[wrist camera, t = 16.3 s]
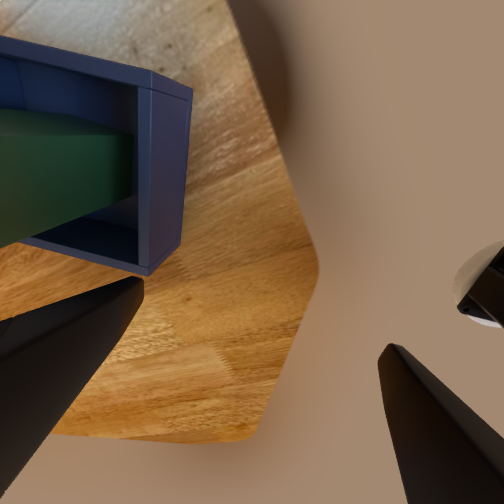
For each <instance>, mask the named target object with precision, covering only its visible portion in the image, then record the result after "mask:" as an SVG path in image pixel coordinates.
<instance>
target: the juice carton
mask: <svg viewBox="0 0 504 504" xmlns="http://www.w3.org/2000/svg"><path fill="white" fill-rule="evenodd" d="M133 139H134V135H133V134H130V133H127V132H124V131H121V130H118V129H115V128H112V127H109V126H106V125H103V124H99V123H96V122H93V121H90V120H87V119H84V118H81V117H78V116H75V115H71V114H59V113H47V112H35V111H23V110H12V109H0V248H3V247H5V246H8V245H10V244H13V243H15V242H18V241H20V240H23V239H25V238H28V237H31V236H33V235H36V234H38V233H41V232H43V231H46V230H48V229H51V228H53V227H56V226H58V225H61V224H63V223H66V222H68V221H71V220H73V219H76V218H79V217H81V216H84V215H86V214H89V213H91V212H94V211H96V210H99V209H101V208H104V207H106V206H109V205H111V204H114V203H116V202H119V201H122V200H124V199H127V198H129V197H131V181H132V160H133Z"/></svg>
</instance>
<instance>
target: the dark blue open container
mask: <svg viewBox="0 0 504 504" xmlns="http://www.w3.org/2000/svg"><path fill="white" fill-rule="evenodd" d="M192 97H193V89H192V88H189V87H187V86H185V85H183V84H180V83H178V82H176V81H174V80H171V79H169V78H167V77H165V76H163V75H160V74H158V73H156V72H154V71H151V70H147V69H143V68H138V67H134V66H130V65H126V64H121V63H117V62H113V61H109V60H104V59H100V58H96V57H92V56H87V55H83V54H79V53H75V52H70V51H66V50H62V49H57V48H53V47H49V46H45V45H40V44H36V43H32V42H28V41H23V40H19V39H15V38H11V37H6V36H2V35H0V109H12V110H23V111H35V112H47V113H59V114H71V115H75V116H78V117H81V118H84V119H87V120H90V121H93V122H96V123H99V124H103V125H106V126H109V127H112V128H115V129H118V130H121V131H124V132H127V133H130V134H133V135H134V139H133V160H132V181H131V197H129V198H127V199H124V200H122V201H119V202H116V203H114V204H111V205H109V206H106V207H104V208H101V209H99V210H96V211H94V212H91V213H89V214H86V215H84V216H81V217H79V218H76V219H73V220H71V221H68V222H66V223H63V224H61V225H58V226H56V227H53V228H51V229H48V230H46V231H43V232H41V233H38V234H36V235H33V236H31V237H28V238H25V239H23V240H20V241H18V242H20V243H23V244H27V245H31V246H35V247H39V248H42V249H46V250H50V251H54V252H57V253H61V254H65V255H69V256H72V257H76V258H80V259H84V260H87V261H91V262H95V263H99V264H102V265H106V266H110V267H114V268H117V269H121V270H125V271H129V272H132V273H136V274H140V275H144V276H147V277H148V276H150V275H151V274H152V273H153V272H154V271H155V270H156V269H157V268H158V267H159V266H160V265H161V264H162V263H163V262H164V261H165V260H166V259H167V258H168V257H169V256H170V255H171V254H172V253H173V252H174V251H175V250H176V248H178V247H179V246H180V241H181V229H182V217H183V205H184V193H185V181H186V169H187V157H188V145H189V133H190V121H191V109H192Z"/></svg>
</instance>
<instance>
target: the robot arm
mask: <svg viewBox="0 0 504 504" xmlns="http://www.w3.org/2000/svg"><path fill="white" fill-rule="evenodd" d="M143 299H144V280H143V279H142V278H138V277H135V276H130V277H127V278H124V279H122V280H119V281H116V282H113V283H110V284H107V285H104V286H101V287H98V288H95V289H92V290H90V291H87V292H84V293H81V294H78V295H75V296H72V297H69V298H66V299H63V300H60V301H58V302H55V303H52V304H49V305H46V306H43V307H40V308H37V309H34V310H31V311H28V312H25V313H23V314H20V315H17V316H15V317H14V318H13V317H11V318H8V319H5V320H2V321H0V498H1V497H2V496H3V494H4V493H5V490H7V489H8V487H9V486H10V485H11V483H12V482H13V481H14V480H15V478H16V477H17V475H18V474H19V473H20V471H21V470H22V469H23V468H24V466H25V465H26V464H27V462H28V461H29V459H30V458H31V457H32V456H33V454H34V453H35V452H36V450H37V449H38V448H39V446H40V445H41V444H42V442H43V441H44V440H45V438H46V437H47V436H48V434H49V433H50V432H51V430H52V429H53V428H54V426H55V425H56V424H57V422H58V421H59V420H60V418H61V417H62V416H63V415H64V413H65V412H66V411H67V409H68V408H69V407H70V405H71V404H72V403H73V401H74V400H75V399H76V397H77V396H78V395H79V393H80V392H81V391H82V389H83V388H84V387H85V385H86V384H87V383H88V381H89V380H90V379H91V377H92V376H93V375H94V373H95V372H96V371H97V369H98V368H99V367H100V365H101V364H102V363H103V361H104V360H105V359H106V357H107V356H108V355H109V353H110V352H111V351H112V350H113V348H114V347H115V346H116V344H117V343H118V341H119V340H120V339H121V337H122V335H123V334H124V332H125V331H126V329H127V327H128V326H129V324H130V322H131V321H132V319H133V317H134V316H135V314H136V312H137V311H138V309H139V307H140V306H141V304H142V302H143ZM465 307H466V308H465ZM457 309H458V310H459V311H460V312H461V313H462V314H465V315H469V316H473V317H477V318H481V319H485V320H489V321H492V322H496V323H498V324H499V325H500V326H501V327H502V328H504V246H503V247H502V248H501V249H500V251H499V252H498V253H497V254H496V256H495V257H494V258H493V260H492V261H491V262H490V264H489V265H488V266H487V267H486V269H485V270H484V271H483V273H482V274H481V275H480V277H479V278H478V279H477V280H476V282H475V283H474V284H473V286H472V287H471V288H470V290H469V291H468V292H467V293H466V295H465V296H464V297H463V299H462V300H461V301H460V303H459V304H458V305H457ZM378 371H379V378H380V384H381V391H382V398H383V404H384V410H385V414H386V418H387V422H388V427H389V431H390V435H391V438H392V442H393V446H394V450H395V454H396V458H397V462H398V466H399V470H400V474H401V478H402V482H403V486H404V490H405V494H406V498H407V502H408V504H504V439H503V438H502V437H501V436H500V435H499V434H498V433H497V432H496V431H494V429H492V428H491V427H490V426H489V425H488V424H487V423H486V422H485V421H484V420H483V419H481V418H480V417H479V416H478V415H477V414H476V413H475V412H474V411H473V410H472V409H471V408H470V407H468V406H467V405H466V404H465V403H464V402H463V401H462V400H461V399H460V398H459V397H458V396H456V395H455V394H454V393H453V392H452V391H451V390H450V389H449V388H448V387H447V386H445V385H444V384H443V383H442V382H441V381H440V380H439V379H438V378H437V377H436V376H435V375H433V374H432V373H431V372H430V371H429V370H428V369H427V368H426V367H425V366H424V365H422V364H421V363H420V362H419V361H418V360H417V359H416V358H415V357H414V356H413V355H412V354H410V353H409V352H408V351H407V350H406V349H405V348H404V347H403V346H400V345H396V344H393V343H390V344H388V345H387V346H386V348H385V349H384V351H383V352H382V354H381V355H380V357H379V359H378Z"/></svg>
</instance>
